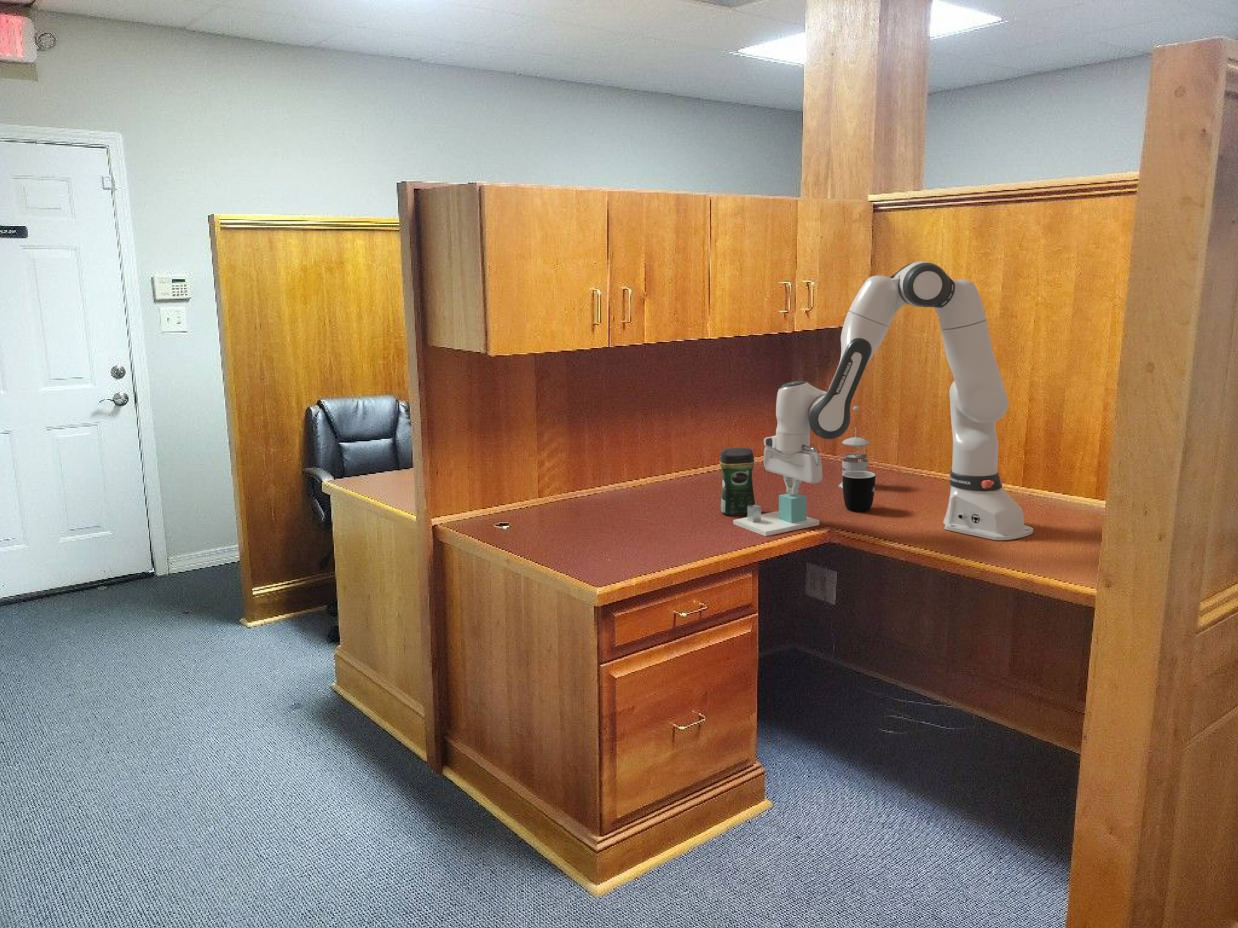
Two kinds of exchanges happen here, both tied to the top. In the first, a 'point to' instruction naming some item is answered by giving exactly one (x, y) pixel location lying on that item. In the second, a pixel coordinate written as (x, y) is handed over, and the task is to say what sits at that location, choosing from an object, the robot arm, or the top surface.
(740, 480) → the coffee jar
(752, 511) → the post
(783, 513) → the turquoise block
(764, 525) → the board
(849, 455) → the french press
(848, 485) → the mug
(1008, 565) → the top surface
